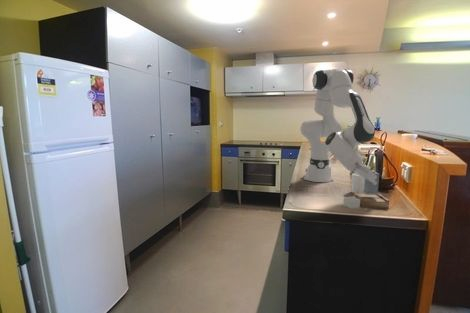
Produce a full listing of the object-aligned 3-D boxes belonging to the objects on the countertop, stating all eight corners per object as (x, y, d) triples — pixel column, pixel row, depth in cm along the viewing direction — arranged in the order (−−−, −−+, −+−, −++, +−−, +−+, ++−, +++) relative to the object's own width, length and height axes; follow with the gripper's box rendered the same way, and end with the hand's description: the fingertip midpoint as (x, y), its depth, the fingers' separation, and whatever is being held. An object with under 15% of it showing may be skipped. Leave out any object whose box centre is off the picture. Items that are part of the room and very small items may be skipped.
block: (343, 205, 125) (343, 197, 125) (352, 204, 126) (353, 196, 126) (350, 208, 120) (350, 200, 120) (359, 208, 122) (360, 199, 121)
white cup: (367, 192, 147) (368, 174, 145) (364, 195, 140) (366, 177, 139) (351, 189, 151) (353, 172, 150) (348, 193, 145) (350, 175, 143)
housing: (362, 191, 129) (364, 169, 128) (374, 191, 129) (375, 169, 127) (366, 194, 124) (368, 171, 122) (378, 195, 124) (380, 171, 122)
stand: (352, 199, 134) (353, 192, 133) (377, 200, 132) (378, 192, 132) (361, 207, 122) (361, 199, 121) (388, 208, 121) (389, 200, 120)
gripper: (366, 160, 114) (388, 183, 115) (351, 154, 134) (369, 173, 135) (355, 170, 115) (376, 192, 116) (341, 162, 136) (360, 181, 136)
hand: (372, 182), depth 126 cm, fingers closed on housing, 4 cm apart
